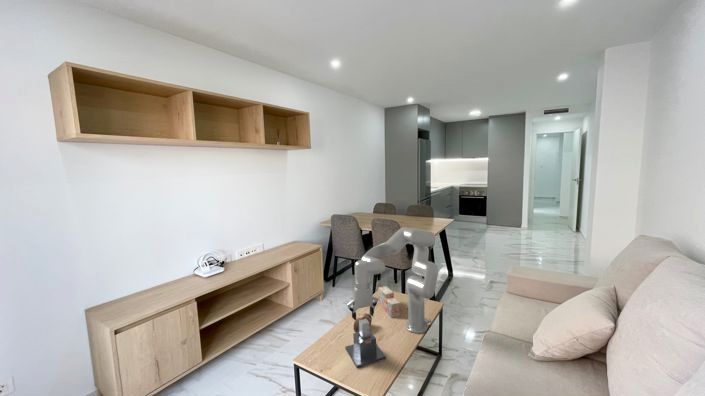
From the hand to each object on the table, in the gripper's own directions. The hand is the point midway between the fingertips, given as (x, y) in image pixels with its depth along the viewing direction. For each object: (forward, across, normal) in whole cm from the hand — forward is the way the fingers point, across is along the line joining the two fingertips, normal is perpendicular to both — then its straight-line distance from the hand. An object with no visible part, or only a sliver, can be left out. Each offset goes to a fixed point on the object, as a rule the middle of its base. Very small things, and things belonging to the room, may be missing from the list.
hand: (363, 317), depth 147 cm
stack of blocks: (+20, -35, -36) cm, 54 cm away
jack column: (+18, -1, 0) cm, 19 cm away
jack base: (+20, -1, 0) cm, 21 cm away
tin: (+21, -9, -21) cm, 31 cm away
